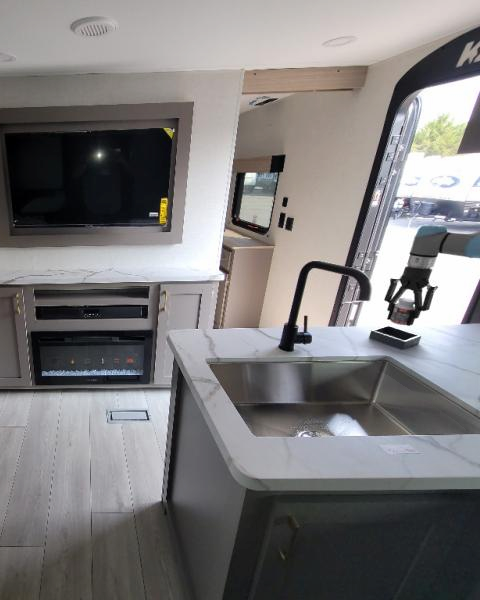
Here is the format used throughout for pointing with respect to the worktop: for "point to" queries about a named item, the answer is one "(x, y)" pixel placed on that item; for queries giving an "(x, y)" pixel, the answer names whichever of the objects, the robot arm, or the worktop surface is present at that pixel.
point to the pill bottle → (402, 311)
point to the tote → (395, 337)
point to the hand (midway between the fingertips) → (399, 321)
